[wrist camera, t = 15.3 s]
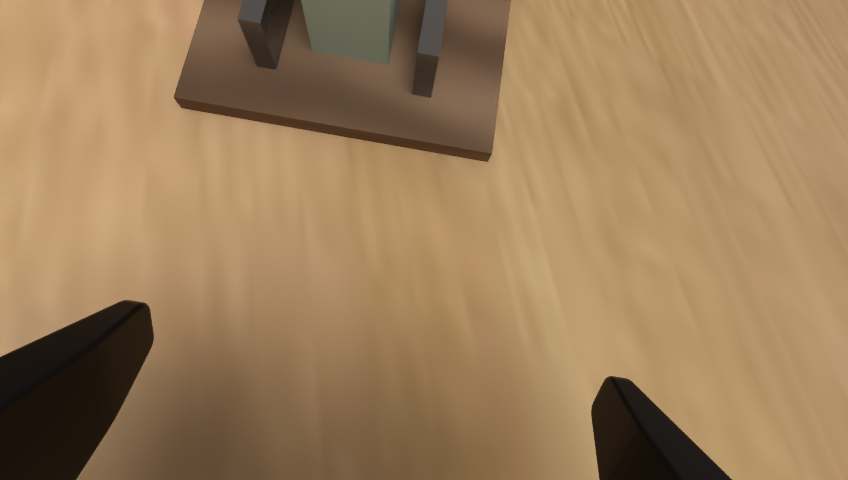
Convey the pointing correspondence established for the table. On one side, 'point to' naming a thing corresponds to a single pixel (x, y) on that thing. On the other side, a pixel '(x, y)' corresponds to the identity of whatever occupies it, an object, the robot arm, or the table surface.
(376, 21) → the pale green rectangular block
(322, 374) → the table surface
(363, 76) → the wooden display stand
